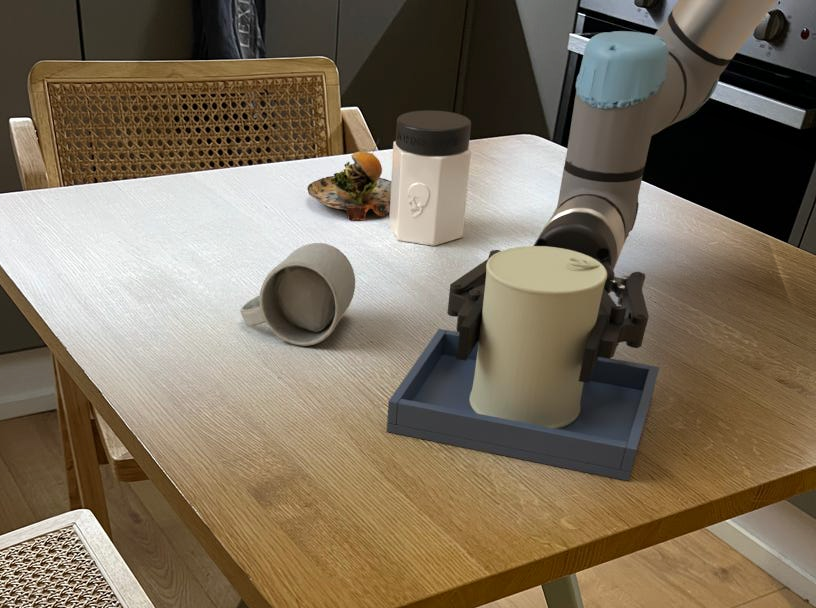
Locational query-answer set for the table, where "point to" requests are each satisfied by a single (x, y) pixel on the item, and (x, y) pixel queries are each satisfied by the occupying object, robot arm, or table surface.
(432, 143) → the jar
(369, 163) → the burger
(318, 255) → the ceramic mug
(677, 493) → the table surface
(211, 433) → the table surface
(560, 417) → the can
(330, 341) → the table surface
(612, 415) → the tray
